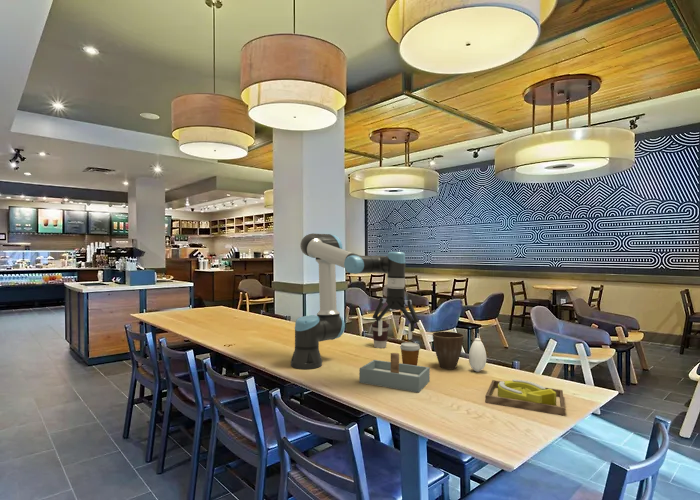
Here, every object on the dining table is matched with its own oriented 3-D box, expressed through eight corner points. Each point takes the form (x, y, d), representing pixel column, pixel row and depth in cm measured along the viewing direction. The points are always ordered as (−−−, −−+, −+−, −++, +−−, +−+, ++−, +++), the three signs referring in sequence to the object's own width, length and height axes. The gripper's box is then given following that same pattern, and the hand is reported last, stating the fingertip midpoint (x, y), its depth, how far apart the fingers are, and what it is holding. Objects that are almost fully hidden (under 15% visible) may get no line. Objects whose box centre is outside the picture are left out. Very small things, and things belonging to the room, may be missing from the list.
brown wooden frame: (485, 402, 150) (485, 395, 150) (492, 386, 169) (492, 380, 169) (564, 415, 138) (564, 408, 139) (562, 396, 157) (562, 390, 157)
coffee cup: (389, 349, 233) (389, 323, 233) (372, 348, 233) (372, 322, 233) (387, 345, 243) (388, 320, 243) (371, 344, 243) (371, 319, 243)
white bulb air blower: (465, 371, 190) (466, 332, 190) (473, 367, 196) (473, 330, 196) (481, 374, 185) (482, 335, 185) (488, 371, 190) (489, 333, 191)
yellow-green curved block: (531, 411, 141) (531, 397, 141) (488, 392, 160) (488, 379, 160) (564, 405, 148) (564, 391, 148) (519, 387, 167) (519, 375, 167)
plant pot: (447, 373, 186) (448, 338, 186) (425, 365, 199) (426, 333, 199) (470, 368, 194) (470, 335, 194) (447, 361, 207) (447, 330, 207)
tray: (359, 382, 171) (359, 368, 171) (373, 372, 185) (374, 359, 186) (418, 392, 160) (419, 377, 160) (429, 381, 174) (429, 367, 174)
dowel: (392, 380, 175) (392, 352, 175) (400, 381, 173) (400, 353, 173) (389, 382, 172) (389, 354, 172) (397, 383, 170) (397, 355, 170)
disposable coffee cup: (419, 373, 186) (419, 347, 186) (398, 371, 188) (399, 345, 188) (420, 367, 195) (420, 342, 195) (400, 366, 197) (400, 341, 197)
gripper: (365, 286, 175) (364, 335, 175) (421, 290, 164) (420, 342, 164) (372, 285, 182) (371, 332, 182) (426, 288, 171) (425, 338, 171)
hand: (394, 337), depth 173 cm, fingers open, 13 cm apart
